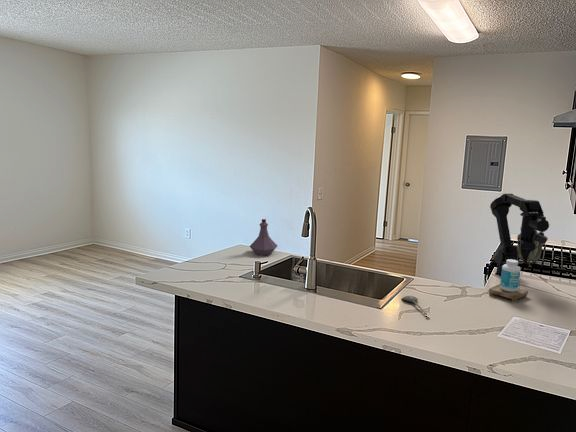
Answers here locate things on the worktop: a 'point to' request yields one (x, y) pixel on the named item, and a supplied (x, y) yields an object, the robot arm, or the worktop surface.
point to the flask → (263, 241)
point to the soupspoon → (414, 300)
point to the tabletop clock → (532, 253)
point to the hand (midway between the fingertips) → (524, 258)
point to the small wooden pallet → (508, 293)
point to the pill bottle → (510, 276)
